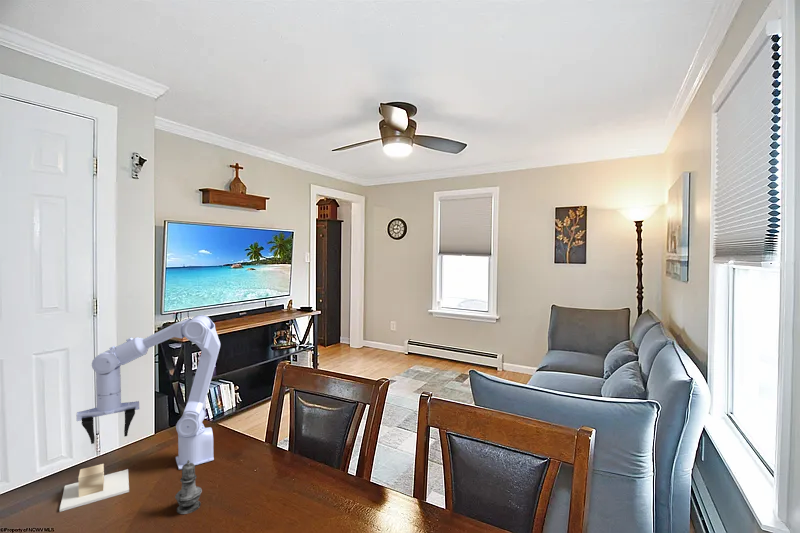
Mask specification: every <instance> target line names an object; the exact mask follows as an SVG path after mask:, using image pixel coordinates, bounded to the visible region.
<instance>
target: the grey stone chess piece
mask: <svg viewBox="0 0 800 533" xmlns="http://www.w3.org/2000/svg"><path fill="white" fill-rule="evenodd" d="M189 462H190V461H189V460H188V461H187V463H186V464H185V465H183V467H182V469H181V478H180V480H179V481H180V482H181V489H180V490H178V492H177V493H176V494H175V496H174V498H175V500H176V502H177V504H178V505H179V506H177V508H176V512H177V514H179V515H188V514H191V513H193V512H196V511H197V510H198V509H199V508H200V507H201V504H202V502H201V501H200V500H199V499H200V498H201V494H202V492H203V489H202V487H200V486H197V485H196V479H197V477H198V476H197V475H196V465H194V464H193V463H189Z"/></svg>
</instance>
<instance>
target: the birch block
mask: <svg viewBox="0 0 800 533" xmlns="http://www.w3.org/2000/svg"><path fill="white" fill-rule="evenodd" d="M104 466H105V464H104V463H100V464H95V465H92V466H88V467H85V468H81V469H79V474H78V477H77V478H78V483H79V497H82V496H86V495H89V494H93V493H97V492H100V491H103V488H104V475H105V467H104Z"/></svg>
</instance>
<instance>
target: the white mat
mask: <svg viewBox="0 0 800 533" xmlns="http://www.w3.org/2000/svg"><path fill="white" fill-rule="evenodd" d="M129 478H130V477H129V469H128V468H127V469H124V470H120V471H119V470H118V471H116V472H112V473H107V474H104V488H103V491H100V492H97V493H93V494H89V495H86V496H82V497H79V483H78V482H74V483H70V484H65V485H64V487H63V494H62V497H61V502H60V505H59V513H61V512H63V511H68V510H71V509H75V508H78V507H81V506H85V505H89V504H92V503H95V502H99V501H102V500H106V499H109V498H113V497H116V496H121V495H123V494H126V493H130V482H129Z"/></svg>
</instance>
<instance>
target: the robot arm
mask: <svg viewBox="0 0 800 533" xmlns="http://www.w3.org/2000/svg"><path fill="white" fill-rule="evenodd" d="M173 338H178V339H183V338H186V339H187V340H188V341H190V342H191V343H194V344H195V345H196V346H197V347H198V348H199V349H200V351H201V353H200V356H199V360H198V364H197V366H196V372H195V375H194V378H193V382H192V384H191V389H190V392H189V395H188V400H187V402H186V406H185V407H184V410H183V413H182V416H181V417H180V418H179V420H177V423H176V424H175V428H176V432H177V437H178V439H177V440H178V441H177V445H178V446H177V447H178V449H177V450H178V455H177V456H175V462H176V465H177V468H178V470H182V467H183V465H185V464H186V463H187V461H188V460H189V461H190V462H189V463H193V464H194V465H195V466H198V465H201V464H204V463H209V462H211V461H214V460H215V458H214V433H213V428H212V427H211V426H210V427H205V425H204V423H203V421H204V420H205V419H206V415H207V414H206V412H207V411H206V404H207V403H206V400H207V397H208V393H209V390H210V385H211V382H212V378H213V375H214V370H215V368H216V363H217V360H218V357H219V352H220V349H221V341H220V339H219V338H220V337H219V335H218V332H217V330H216V324H215V323H214V322H213V321H212V319H211V318H210V317H209V316H207V315H205V314H198V315H195V316H193V317H192V318H191V317H189V318H186V319H183V320H180V321H178V322H175V323H172V324H171V325H169V326H167V327H165V328H163V329H161V330H159V331H157V332H154V333H153V334H151V335H149V336H147V337H145V338H143V337H137V336H136V337H134V338H133V337H129V338H126V341H125V342H123V343H121V344H118V345H117V346H115V345H113V346H111V347H109V349H108V350H106V351H104V352H101V353H99V354H98V355H96V356H95V357H94V358H93V360H92V362H91V367H92V370H93V371H94V372H95V388H96V389H95V390H96V391H95V394H96V395H95V396H96V397H95V398H96V406H95V407H93V408H89V409H85V410H82V411H77V412H76V414H75V415H76V422H80V421H81V425H82V427H83V428H84V429H85V432H87V434H88V437H89V440H90V443H91V445H92V444H94V445H95V440H96V439H95V430H94V427H95V426H94V418H96V417H102V416H107V415H112V414H118V413H123V412H124V430H123V433H124V437H128V432H129V429H130V426H131V422H132V421H133V419H134V417H135V414H136V411H137V410H140V401H139V400H138V401H137V400H136V401H128V402H122V382H121V381H122V380H121V379H122V377H121V366H124V365H126V364H128V363H131V362H132V361H135V360H137V359H139V358H141V357H144V356H145V355H146V354H148V351H149V349H151V348H152V347H155V346H158V345H159V344H161V343H164V342H166V341H168V340H170V339H173Z"/></svg>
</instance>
